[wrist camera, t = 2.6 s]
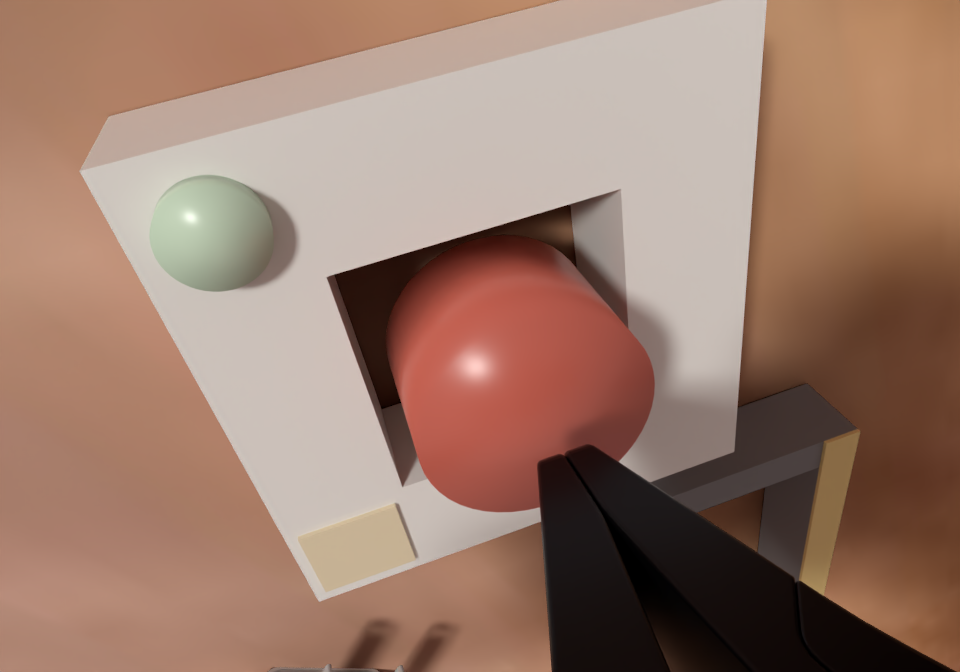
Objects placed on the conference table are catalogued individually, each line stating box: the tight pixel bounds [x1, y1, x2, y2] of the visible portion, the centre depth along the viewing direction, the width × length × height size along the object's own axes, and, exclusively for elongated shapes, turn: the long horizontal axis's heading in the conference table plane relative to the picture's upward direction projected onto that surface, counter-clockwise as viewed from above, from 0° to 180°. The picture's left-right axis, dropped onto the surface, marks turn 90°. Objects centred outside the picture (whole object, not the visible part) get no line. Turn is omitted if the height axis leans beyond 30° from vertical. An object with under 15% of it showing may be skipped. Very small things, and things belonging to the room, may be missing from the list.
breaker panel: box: [80, 0, 767, 602], centre depth 13 cm, size 10×10×3 cm
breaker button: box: [386, 235, 655, 512], centre depth 12 cm, size 4×4×3 cm
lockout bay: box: [650, 384, 860, 596], centre depth 21 cm, size 11×7×2 cm, turn 10°
